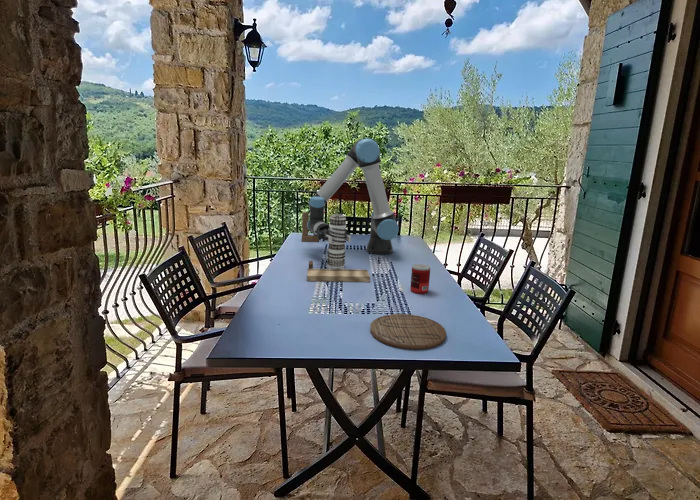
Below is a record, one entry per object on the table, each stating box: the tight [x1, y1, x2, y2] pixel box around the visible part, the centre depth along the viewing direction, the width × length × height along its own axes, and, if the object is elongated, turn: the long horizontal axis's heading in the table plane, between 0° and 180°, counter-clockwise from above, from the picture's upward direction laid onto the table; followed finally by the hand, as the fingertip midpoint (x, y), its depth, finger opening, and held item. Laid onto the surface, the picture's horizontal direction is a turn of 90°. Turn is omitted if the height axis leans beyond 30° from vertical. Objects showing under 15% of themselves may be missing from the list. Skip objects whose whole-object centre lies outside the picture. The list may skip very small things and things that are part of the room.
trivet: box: [369, 313, 447, 351], centre depth 146 cm, size 25×25×2 cm
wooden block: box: [301, 211, 320, 243], centre depth 269 cm, size 4×11×18 cm, turn 93°
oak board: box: [306, 268, 371, 283], centre depth 201 cm, size 28×11×3 cm, turn 95°
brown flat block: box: [308, 260, 314, 269], centre depth 210 cm, size 2×6×4 cm, turn 5°
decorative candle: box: [326, 213, 348, 269], centre depth 208 cm, size 9×9×25 cm
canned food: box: [409, 263, 431, 295], centre depth 186 cm, size 8×8×11 cm
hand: (340, 239), depth 204 cm, fingers closed on decorative candle, 9 cm apart
